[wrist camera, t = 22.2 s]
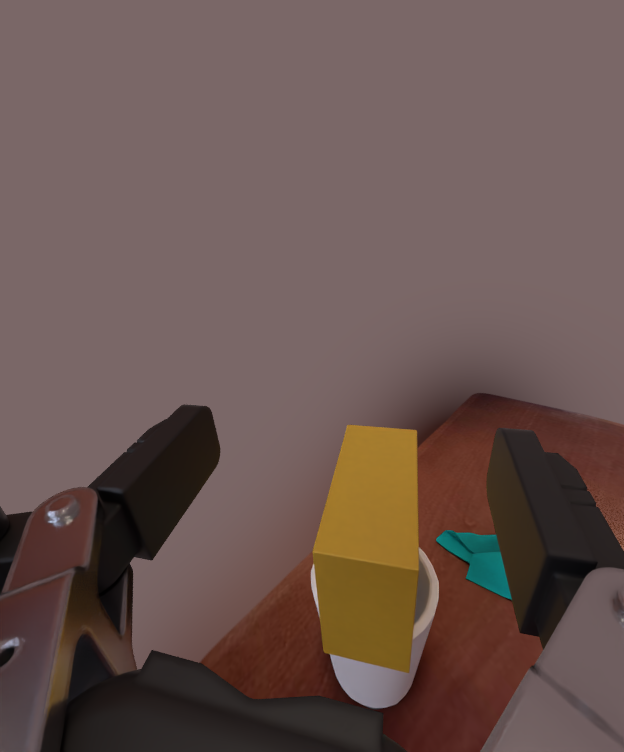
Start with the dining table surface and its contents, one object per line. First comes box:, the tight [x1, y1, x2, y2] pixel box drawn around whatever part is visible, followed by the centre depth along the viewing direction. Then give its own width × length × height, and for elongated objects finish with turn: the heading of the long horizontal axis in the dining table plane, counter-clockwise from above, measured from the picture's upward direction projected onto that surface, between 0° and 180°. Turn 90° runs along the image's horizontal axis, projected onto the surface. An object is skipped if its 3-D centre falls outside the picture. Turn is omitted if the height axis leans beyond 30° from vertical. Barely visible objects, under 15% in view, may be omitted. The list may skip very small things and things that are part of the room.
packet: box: [313, 425, 419, 673], centre depth 26 cm, size 6×12×10 cm, turn 166°
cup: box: [311, 548, 439, 709], centre depth 31 cm, size 10×10×13 cm
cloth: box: [436, 530, 512, 600], centre depth 38 cm, size 26×14×2 cm, turn 39°
